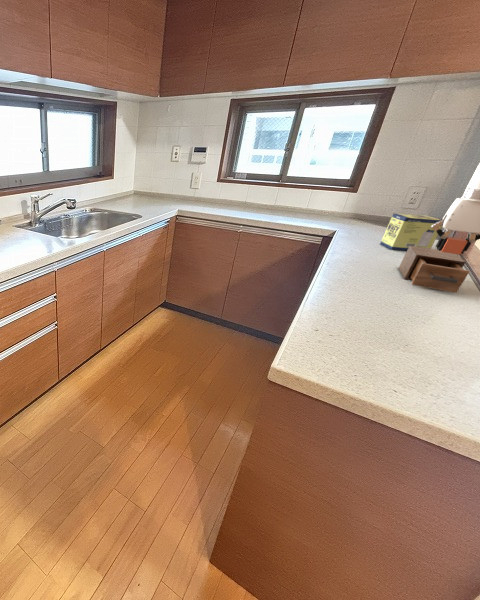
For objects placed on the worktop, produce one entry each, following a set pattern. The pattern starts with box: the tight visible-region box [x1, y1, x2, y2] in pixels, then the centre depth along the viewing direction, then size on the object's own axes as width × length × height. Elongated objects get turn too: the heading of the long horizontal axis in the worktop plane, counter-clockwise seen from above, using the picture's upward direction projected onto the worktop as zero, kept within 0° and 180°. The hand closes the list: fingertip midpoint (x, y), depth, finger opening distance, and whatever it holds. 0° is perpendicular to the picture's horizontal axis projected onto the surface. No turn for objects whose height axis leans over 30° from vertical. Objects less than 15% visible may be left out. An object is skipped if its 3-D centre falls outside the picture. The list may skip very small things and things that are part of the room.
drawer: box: [410, 257, 470, 294], centre depth 114 cm, size 18×11×8 cm, turn 145°
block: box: [441, 236, 468, 256], centre depth 109 cm, size 4×4×4 cm
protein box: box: [380, 213, 443, 252], centre depth 155 cm, size 10×16×16 cm
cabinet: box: [398, 246, 466, 281], centre depth 122 cm, size 15×13×10 cm
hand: (449, 250), depth 110 cm, fingers closed on block, 4 cm apart
